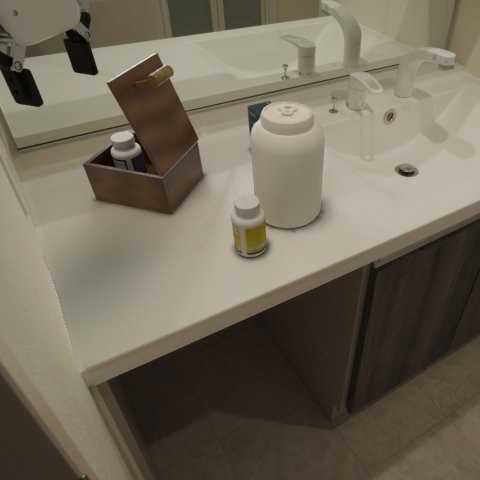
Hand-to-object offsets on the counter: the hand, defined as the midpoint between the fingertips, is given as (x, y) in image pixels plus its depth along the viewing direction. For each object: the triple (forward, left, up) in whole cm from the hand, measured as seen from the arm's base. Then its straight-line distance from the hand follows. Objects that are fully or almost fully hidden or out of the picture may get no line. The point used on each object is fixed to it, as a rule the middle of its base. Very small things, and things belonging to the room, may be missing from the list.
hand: (60, 87), depth 50 cm
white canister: (+22, +20, -28) cm, 41 cm away
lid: (-1, +19, -12) cm, 22 cm away
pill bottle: (-9, +19, -28) cm, 35 cm away
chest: (-6, +19, -28) cm, 34 cm away
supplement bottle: (+19, +8, -28) cm, 35 cm away
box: (+12, +38, -28) cm, 49 cm away
